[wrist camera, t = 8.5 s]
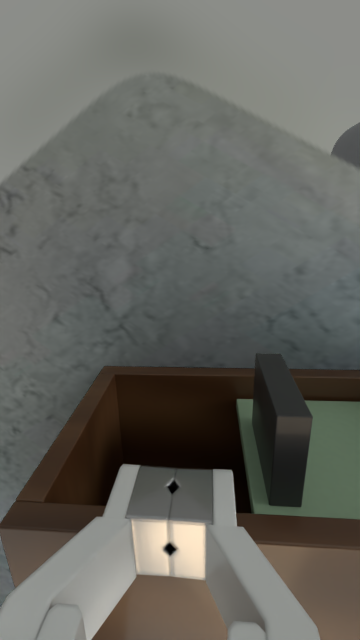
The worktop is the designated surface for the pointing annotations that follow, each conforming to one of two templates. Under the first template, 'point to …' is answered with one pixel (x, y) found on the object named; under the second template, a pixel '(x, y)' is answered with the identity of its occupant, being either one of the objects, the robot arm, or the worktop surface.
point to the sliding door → (298, 448)
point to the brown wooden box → (183, 452)
